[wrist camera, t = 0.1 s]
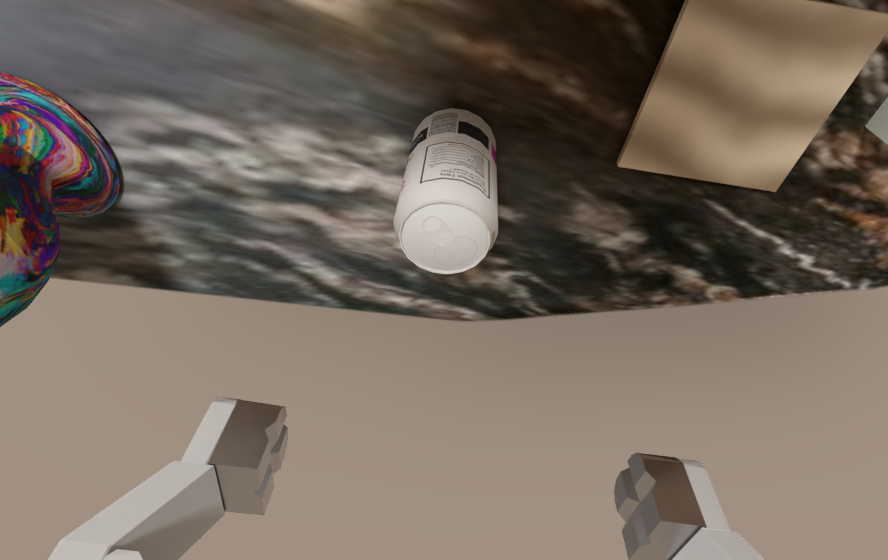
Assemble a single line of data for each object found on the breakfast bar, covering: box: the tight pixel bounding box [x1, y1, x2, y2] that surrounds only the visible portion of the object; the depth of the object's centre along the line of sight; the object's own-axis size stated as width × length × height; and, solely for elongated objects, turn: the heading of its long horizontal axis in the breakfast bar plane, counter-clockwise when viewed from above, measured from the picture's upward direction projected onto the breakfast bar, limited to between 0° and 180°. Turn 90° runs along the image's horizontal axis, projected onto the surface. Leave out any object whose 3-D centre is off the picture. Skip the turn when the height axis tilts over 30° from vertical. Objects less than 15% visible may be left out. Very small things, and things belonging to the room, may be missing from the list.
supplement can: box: [393, 108, 498, 274], centre depth 43 cm, size 8×8×15 cm
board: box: [616, 0, 888, 192], centre depth 44 cm, size 16×16×1 cm
